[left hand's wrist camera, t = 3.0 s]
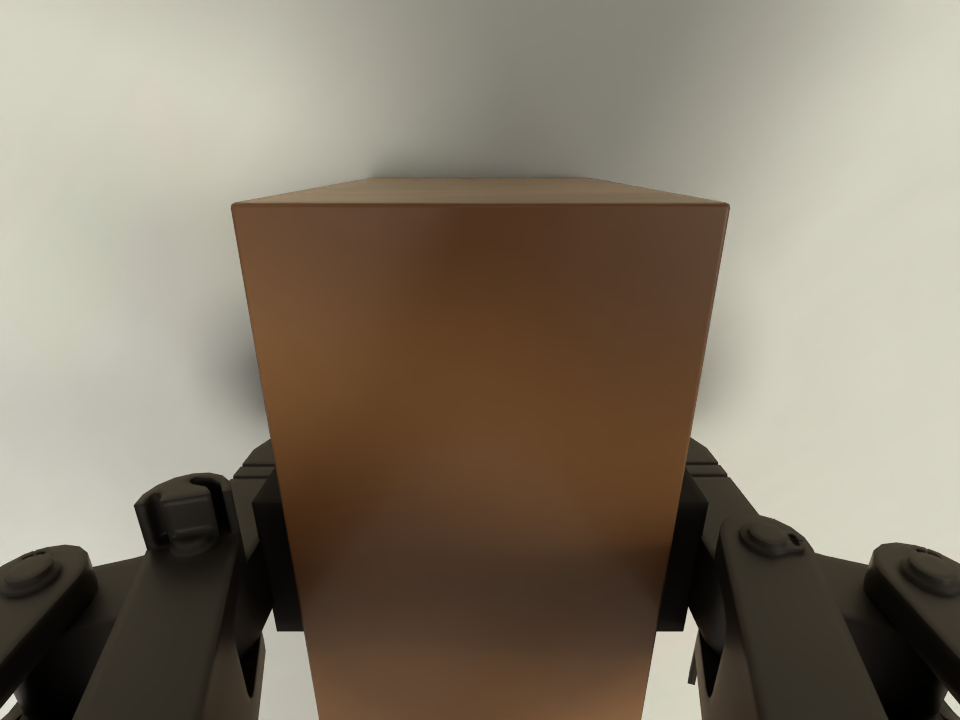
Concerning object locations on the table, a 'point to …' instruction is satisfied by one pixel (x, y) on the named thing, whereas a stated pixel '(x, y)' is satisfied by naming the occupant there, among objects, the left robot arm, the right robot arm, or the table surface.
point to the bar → (480, 432)
